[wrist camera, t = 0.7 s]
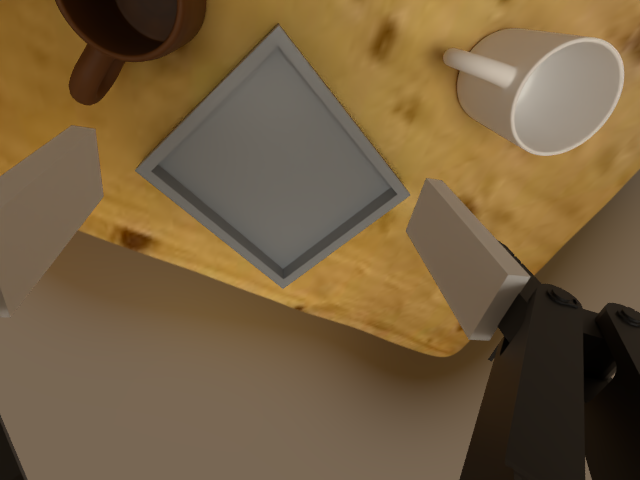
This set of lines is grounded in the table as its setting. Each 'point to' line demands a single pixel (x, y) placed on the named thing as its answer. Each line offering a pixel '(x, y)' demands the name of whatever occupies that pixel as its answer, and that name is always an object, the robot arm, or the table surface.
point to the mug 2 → (539, 86)
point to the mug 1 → (125, 37)
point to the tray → (274, 164)
